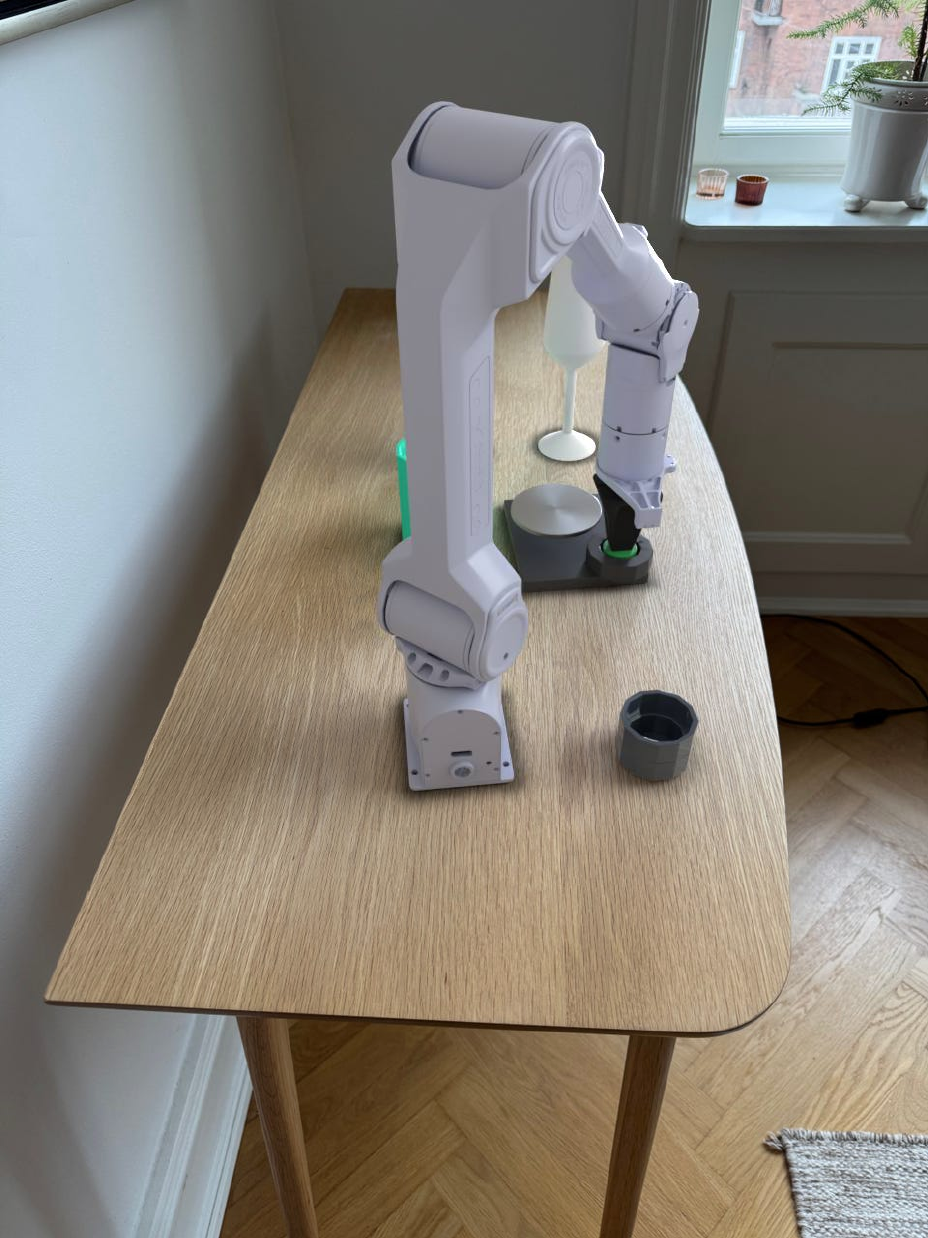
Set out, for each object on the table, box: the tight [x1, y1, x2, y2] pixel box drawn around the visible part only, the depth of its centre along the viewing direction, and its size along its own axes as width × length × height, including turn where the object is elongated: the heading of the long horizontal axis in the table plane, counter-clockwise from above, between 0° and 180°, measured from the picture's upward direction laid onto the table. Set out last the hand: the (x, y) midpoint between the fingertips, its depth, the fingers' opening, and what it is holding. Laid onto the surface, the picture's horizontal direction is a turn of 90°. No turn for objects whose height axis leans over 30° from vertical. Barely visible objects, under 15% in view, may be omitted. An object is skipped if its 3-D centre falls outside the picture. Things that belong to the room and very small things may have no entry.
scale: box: [503, 493, 655, 593], centre depth 91 cm, size 15×12×3 cm
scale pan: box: [511, 483, 602, 539], centre depth 91 cm, size 9×9×1 cm
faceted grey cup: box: [615, 689, 699, 782], centre depth 70 cm, size 6×6×4 cm
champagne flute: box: [537, 255, 606, 462], centre depth 99 cm, size 7×7×24 cm
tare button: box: [602, 540, 637, 560], centre depth 87 cm, size 3×3×2 cm
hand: (620, 546), depth 87 cm, fingers closed, pressing on tare button
